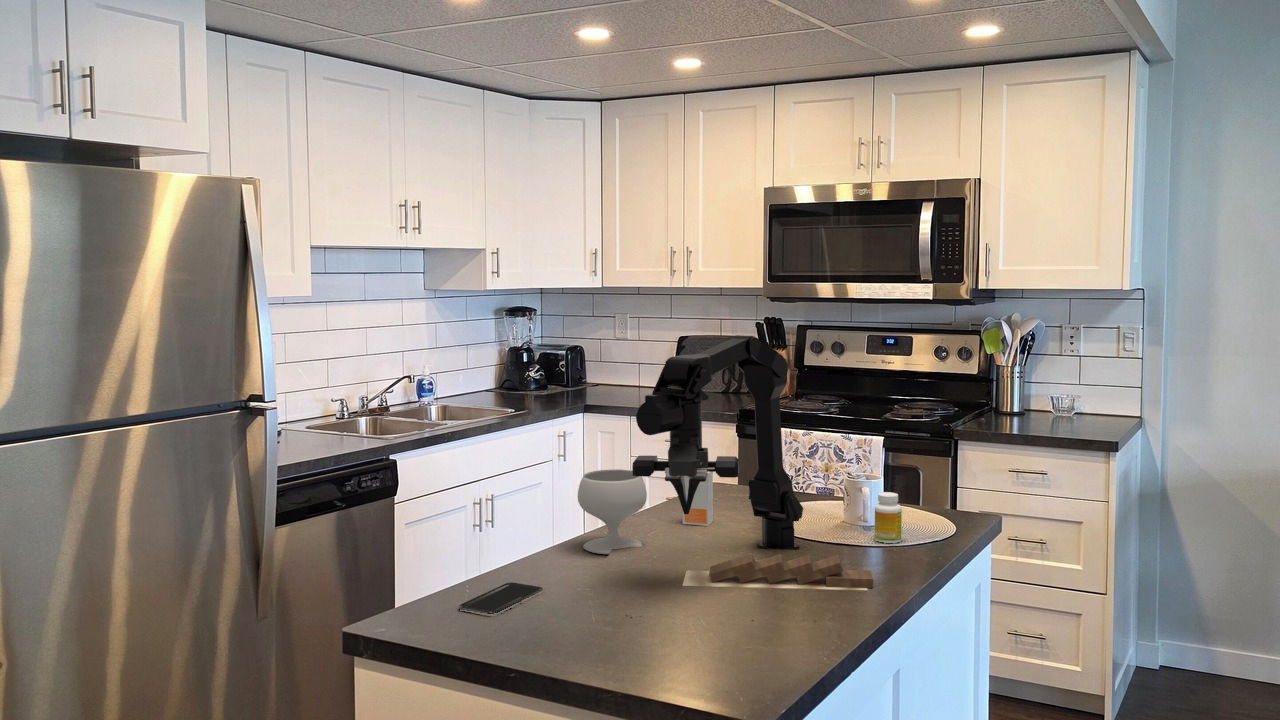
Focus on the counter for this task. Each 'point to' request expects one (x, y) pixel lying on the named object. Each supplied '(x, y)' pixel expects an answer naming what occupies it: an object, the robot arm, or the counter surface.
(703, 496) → the skincare box
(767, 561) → the domino
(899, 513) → the supplement bottle
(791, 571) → the domino
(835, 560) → the domino
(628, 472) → the chalice
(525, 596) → the phone
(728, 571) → the domino
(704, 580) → the domino board
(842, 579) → the domino
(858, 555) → the counter surface
